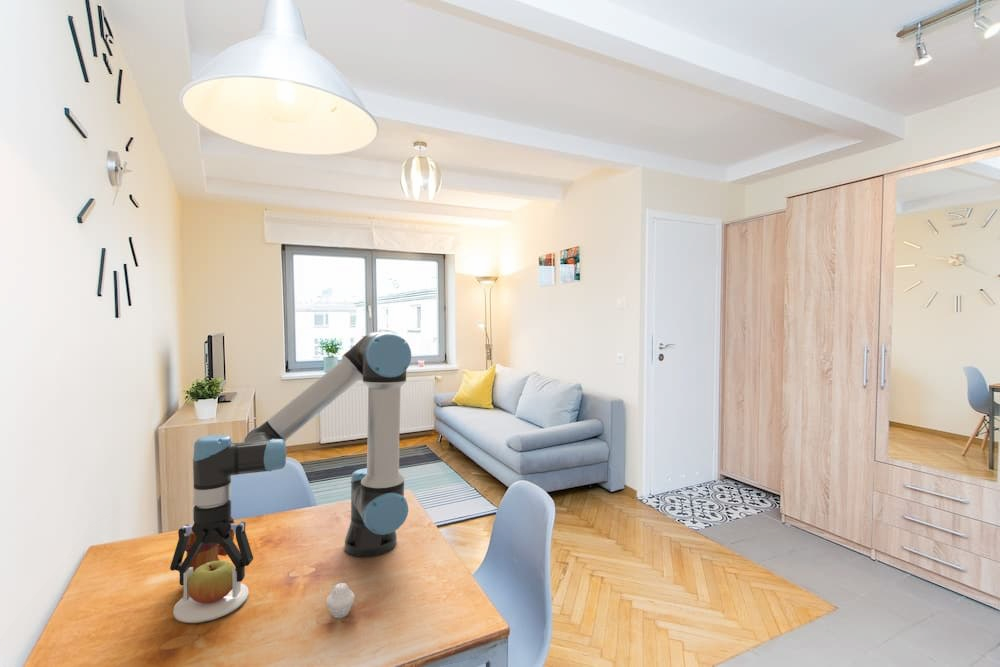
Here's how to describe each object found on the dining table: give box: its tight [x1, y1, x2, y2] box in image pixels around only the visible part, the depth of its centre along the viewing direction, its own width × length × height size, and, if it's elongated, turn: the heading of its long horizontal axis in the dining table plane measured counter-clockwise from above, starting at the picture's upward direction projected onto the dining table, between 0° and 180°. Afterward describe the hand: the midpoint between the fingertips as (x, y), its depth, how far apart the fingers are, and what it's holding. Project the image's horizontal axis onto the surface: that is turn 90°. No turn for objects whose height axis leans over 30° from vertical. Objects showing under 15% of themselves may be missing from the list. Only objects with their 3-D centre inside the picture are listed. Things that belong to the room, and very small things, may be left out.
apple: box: [188, 559, 235, 603], centre depth 108 cm, size 10×10×8 cm
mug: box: [185, 516, 235, 572], centre depth 120 cm, size 15×8×15 cm, turn 168°
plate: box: [173, 582, 249, 624], centre depth 108 cm, size 15×15×1 cm
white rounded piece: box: [326, 582, 356, 619], centre depth 105 cm, size 6×6×7 cm
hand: (212, 595), depth 108 cm, fingers closed on apple, 10 cm apart
